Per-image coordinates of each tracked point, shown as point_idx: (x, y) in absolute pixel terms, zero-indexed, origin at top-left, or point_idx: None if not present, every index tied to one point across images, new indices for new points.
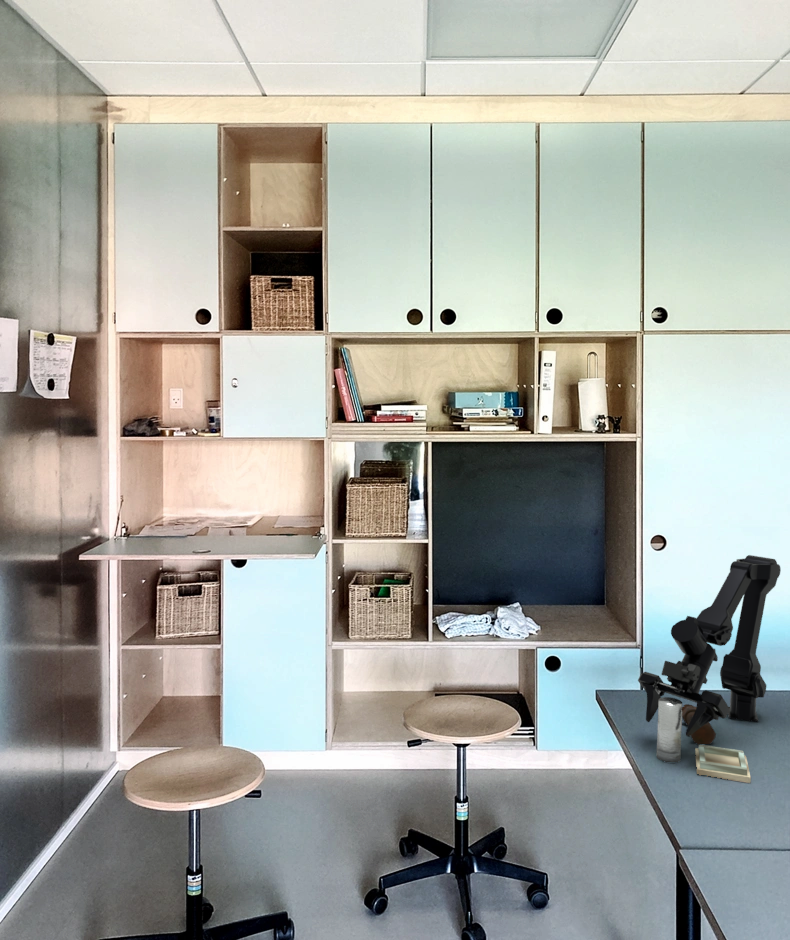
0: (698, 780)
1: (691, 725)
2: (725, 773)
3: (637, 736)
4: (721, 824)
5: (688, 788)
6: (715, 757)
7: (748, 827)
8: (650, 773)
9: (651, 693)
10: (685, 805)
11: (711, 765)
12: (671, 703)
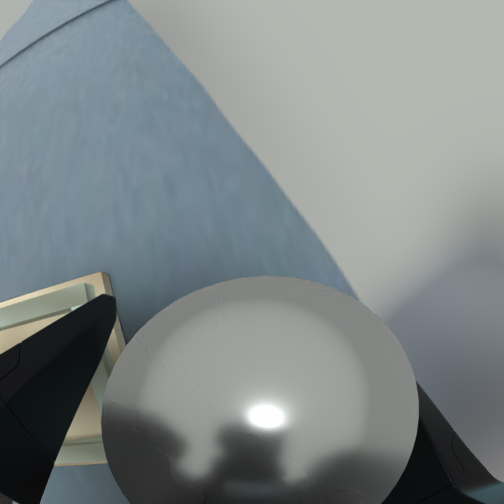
0: (98, 237)
1: (62, 323)
2: (22, 296)
3: None
4: (51, 74)
5: (119, 166)
6: None
7: (7, 100)
8: (251, 189)
9: (482, 494)
10: (120, 85)
11: (51, 292)
12: (233, 386)
